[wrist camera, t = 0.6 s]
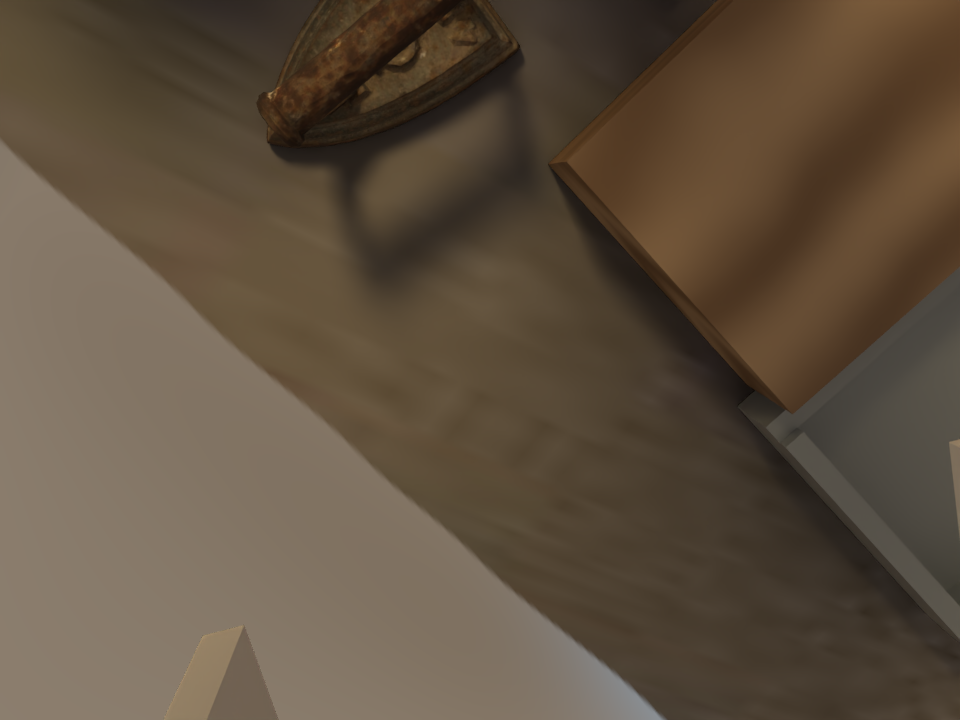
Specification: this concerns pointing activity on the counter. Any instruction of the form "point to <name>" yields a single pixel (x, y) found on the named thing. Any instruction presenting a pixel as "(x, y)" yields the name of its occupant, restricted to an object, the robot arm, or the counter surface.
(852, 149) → the walnut stand
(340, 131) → the clothes iron
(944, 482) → the bin
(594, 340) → the counter surface
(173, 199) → the counter surface
